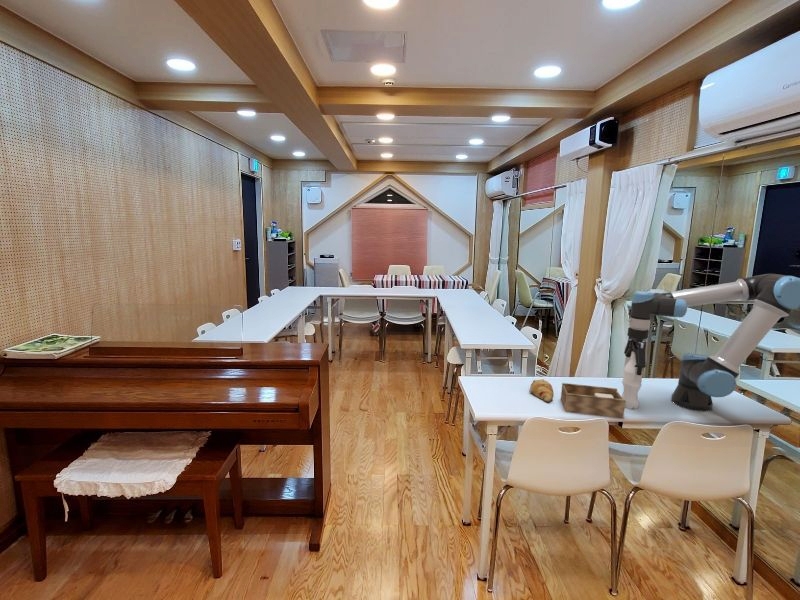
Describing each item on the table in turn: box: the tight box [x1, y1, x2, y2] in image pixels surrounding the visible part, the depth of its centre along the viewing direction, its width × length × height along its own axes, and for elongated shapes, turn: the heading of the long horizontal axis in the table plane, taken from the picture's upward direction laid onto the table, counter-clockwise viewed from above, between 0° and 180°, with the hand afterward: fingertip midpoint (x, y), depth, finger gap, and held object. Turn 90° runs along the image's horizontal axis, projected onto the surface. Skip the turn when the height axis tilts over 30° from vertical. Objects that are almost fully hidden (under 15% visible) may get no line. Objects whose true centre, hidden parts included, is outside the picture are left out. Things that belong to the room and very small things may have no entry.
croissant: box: [529, 379, 554, 402], centre depth 190 cm, size 21×10×8 cm, turn 0°
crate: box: [560, 382, 626, 420], centre depth 173 cm, size 22×13×9 cm, turn 76°
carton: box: [594, 393, 614, 398], centre depth 172 cm, size 7×10×5 cm
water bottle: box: [621, 351, 644, 410], centre depth 176 cm, size 7×7×25 cm
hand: (631, 376), depth 176 cm, fingers open, 13 cm apart
